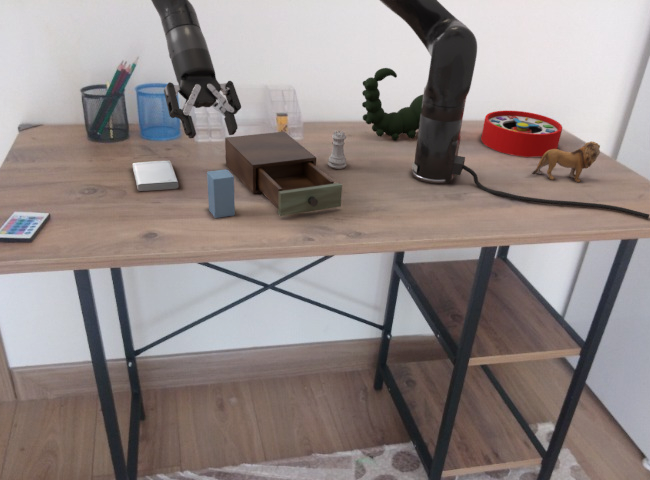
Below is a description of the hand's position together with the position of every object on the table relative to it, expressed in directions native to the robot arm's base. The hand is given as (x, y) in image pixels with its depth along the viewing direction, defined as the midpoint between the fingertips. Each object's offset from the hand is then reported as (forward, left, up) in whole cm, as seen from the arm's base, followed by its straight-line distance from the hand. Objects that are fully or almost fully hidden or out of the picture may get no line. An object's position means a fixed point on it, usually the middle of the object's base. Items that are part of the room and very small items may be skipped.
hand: (213, 135), depth 125 cm
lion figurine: (-68, -47, -13) cm, 83 cm away
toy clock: (-56, -67, -13) cm, 88 cm away
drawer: (-15, -6, -12) cm, 20 cm away
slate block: (-4, +5, -13) cm, 15 cm away
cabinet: (-5, -17, -13) cm, 22 cm away
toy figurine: (-27, -57, -13) cm, 64 cm away
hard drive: (+16, -4, -13) cm, 21 cm away
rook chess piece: (-17, -29, -13) cm, 36 cm away
